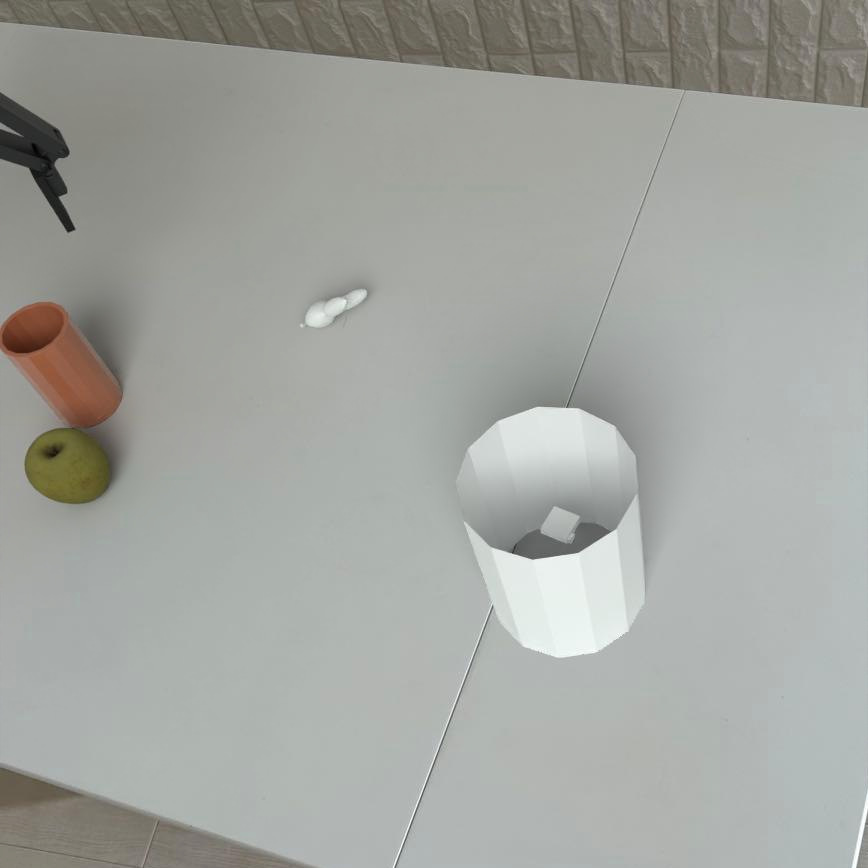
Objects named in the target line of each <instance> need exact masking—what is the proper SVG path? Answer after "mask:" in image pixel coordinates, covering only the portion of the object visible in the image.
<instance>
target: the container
mask: <svg viewBox="0 0 868 868" xmlns="http://www.w3.org/2000/svg"><path fill="white" fill-rule="evenodd" d="M638 478H639V477H638V465H637V456H636V455H635V453H634V452H633V450H632V449H631V447H630V445H629V444H628V443H627V441H626V440H625V439H624V437H623V436H622V434H621V432H620V431H619V430H618V428H617V427H616V426H615V425H614V424H612V423H609V422H608V421H605V420H603V419H602V418H600V417H598V416H596V415H594V414H592V413H589V412H587V411H585V410H583V409H581V408H577V407H555V406H554V407H553V406H535V407H533V408H530V409H527V410H523V411H522V412H518V413H516V414H513V415H511V416H508V417H505V418H502V419H499V420H497V421H496V422H495V423H493V425H492V426H491V427H489V428H488V429H487V430H486V431H485V432H484V433H483V434H482V435H481V436H480V437H479V438H478V439H476V441H474V442H473V443H472V444H471V445H470V446H468V448H467V450H466V453H465V455H464V458H463V461H462V464H461V467H460V469H459V473H458V475H457V478H456V481H455V483H454V485H455V489H456V494H457V498H458V503H459V507H460V513H461V517H462V521H463V524H464V527H465V529H466V532H467V536H468V538H469V540H470V544H471V546H472V550H473V552H474V556H475V558H476V560H477V563H478V566H479V569H480V572H481V575H482V577H483V580H484V583H485V586H486V588H487V592H488V596H489V598H490V600H491V604H492V606H493V609H494V612H495V614H496V617H497V620H498V622H499V623H500V624H501V626H503V628H504V629H506V630H507V632H508V633H509V634H510V635H511V636H512V637H513V638H514V639H515V640H516V641H517V642H518V643H519V644H520V645H521V647H523V648H526V649H529V648H530V649H529V650H531V651H535V652H538V651H539V653H541V652H542V654H545V655H548V656H550V655H551V657H553V658H557V659H561V658H569V657H575V656H583V655H582V654H584V655H590V653H591V654H597V653H599V652H600V651H602V650H603V649H604V647H605V648H606V647H607V645H608V646H610V643H611V644H613V641H614V640H615V641H617V640H618V639H620V638H621V637H623V636H624V635H626V634H627V633H629V632H630V630H629V629H631V628H632V626H633V624H634V623H635V621H636V619H637V617H638V615H639V614H640V612H641V610H640V609H642V608H643V606H644V604H645V603H646V574H645V573H646V572H645V570H646V569H645V556H644V544H643V533H642V532H643V531H642V529H643V528H642V518H641V506H640V504H641V503H640V496H639V495H640V492H639V479H638ZM580 523H586V524H597V525H599V526H600V525H601V526H600V527H602V526H603V527H602V528H604V529H606V530H608V531H609V533H607V534H606V535H604V536H603V537H601V538H599V539H598V540H596V541H595V542H593V543H591V544H590V545H589V546H587V547H585V548H584V549H582V550H581V551H579V552H576V553H569V554H562V555H555V556H550V557H549V556H548V557H542V558H535V559H531V558H528V557H525V556H522V555H519V554H515V553H510V551H511V550H512V549H513V548H514V547H515V546H516V545H517V544H518V543H519V542H520V541H521V540H523V538H524V537H526V535H527V534H530V533H532V532H535V531H538V530H540V534H542V535H544V536H547V537H549V538H551V539H554V540H556V541H559V542H562V543H564V544H568V543H569V544H572V543H573V542H574V539H575V538H576V536H575V535H576V534H575V532H576V530H577V528H578V527H579V525H580ZM611 531H612V532H611ZM642 605H643V606H642ZM641 607H642V608H641ZM637 614H638V615H637ZM636 616H637V617H636ZM635 618H636V619H635ZM634 620H635V621H634ZM632 623H633V624H632ZM631 625H632V626H631ZM630 627H631V628H630ZM626 632H627V633H626ZM625 633H626V634H625ZM623 634H624V635H623ZM622 635H623V636H622ZM620 636H621V637H620ZM619 637H620V638H619ZM616 639H617V640H616ZM615 641H614V642H615ZM599 650H600V651H599Z"/></svg>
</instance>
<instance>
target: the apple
mask: <svg viewBox="0 0 868 868" xmlns="http://www.w3.org/2000/svg"><path fill="white" fill-rule="evenodd" d="M23 466H24V472H25V476H26V478H27V480H28V483H30V485H31V486H32V487H33V489H35V491H37V492H38V493H39V494H40V495H42V496H43V497H45V498H47V499H49V500H52V501H54V502H57V503H62V504H68V505H81V504H87V503H91V502H93V501H95V500H96V499H99V498H100V497H101V496H102V495H103V494H104V492H105V491H106V490H107V488H108V486H109V483H110V480H111V464H110V461H109V458H108V455H107V453H106V451H105V450H104V448H103V447H102V446H101V444H100V443H99V442H98V441H97V440H96V439H95V438H94V437H93V436H92V435H91V434H88V433H87V432H85V431H83V430H81V429H79V428H75V427H58V428H53V429H50V430H47V431H45V432H43V433H41V434H40V435H38V436H37V437H36V438H35V439H34V440H33V441H32V443H31V444H30V446H29V447H28V448H27V451H26V454H25V457H24V465H23Z"/></svg>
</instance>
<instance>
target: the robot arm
mask: <svg viewBox="0 0 868 868" xmlns="http://www.w3.org/2000/svg"><path fill="white" fill-rule="evenodd" d="M0 124H2V125H3V126H5V127H7V128H8V129H10V130H12V131H13V132H14V133H13V132H10V131H7V130H5V129H2V128H0V160H3V161H6V162H9V163H12V164H15V165H18V166H21V167H24V168H27V169H29V172H30V174H31V176H32V178H33V181H34V182H35V183H36V185H37V187H38V188H39V190H40V191H41V193H42V195H43V196H44V198H45V199H46V201H47V202H48V204H49V205H50V207H51V209H52V211H53V212H54V213H55V215H56V217H57V218H58V220H59V221H60V223H61V225H62V226H63V228H64V229H65V231H66V232H67V234H69V233H71V232H74V231H76V227H75V225H74V223H73V221H72V219H71V217H70V215H69V213H68V210H67V209H66V207H65V205H64V204H63V202H62V201H61V199H60V197H63V196H65V195H68V187H67V185H66V183H65V181H64V178H63V177H62V175H61V174H60V172H59V170H58V168H57V167H56V165H55V164H56V162H57V161H58V160H59V159H66V158H68V157H69V155H70V153H71V151H70V148H69V146H68V144H67V142H66V140H65V138H64V136H63V134H62V132H61V130H60V129H59V128H57V127H56V126H55V125H53V124H51V123H49V122H48V121H47V120H45V119H44V118H42V117H41V116H38V115H37V114H35V113H34V112H32V111H31V110H29V109H27V108H26V107H25V106H23V105H21V104H19V103H18V102H16V101H15V100H14V99H12V98H10V97H8V96H7V95H5V94H4V93H2V92H1V91H0Z"/></svg>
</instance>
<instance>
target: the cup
mask: <svg viewBox="0 0 868 868" xmlns="http://www.w3.org/2000/svg"><path fill="white" fill-rule="evenodd" d="M0 350H1V351H2V353H3V354H4V355H5V357H6V358H7V359H8V360H9V361H10V362H11V364H12V365H13V366H14V367H15V368H16V370H18V372H19V373H20V374H21V375H22V376H23V377H24V379H25V380H26V381H27V382H28V384H29V385H30V386H31V387H32V388H33V389H34V391H35V392H36V393H37V394H38V395H39V396H40V398H41V399H42V400H43V401H44V402H45V403H46V404H47V406H48V407H49V408H50V410H51V411H52V412H53V413H54V414H55V415H56V416H57V418H58V419H59V420H60V421H61V422H62V423H63V424H64V425H66V426H68V427H70V428H74V429H85V428H91V427H94V426H96V425H98V424H101V423H102V422H104V421H106V420H107V419H108V418H110V417H111V416H112V415H113V414H114V413H115V412H116V411H117V409H118V408H119V406H120V404H121V403H122V402H121V401H122V397H123V389H122V386H121V384H120V383H119V381H118V379H117V378H116V377H115V375H114V374H113V372H112V371H111V370H110V368H109V367H108V366H107V364H106V363H105V362H104V360H103V359H102V358H101V356H100V355H99V353H98V352H97V351H96V350H95V347H93V345H92V344H91V343H90V341H89V340H88V339H87V337H86V336H85V335H84V333H83V332H82V330H81V329H80V327H79V326H78V325H77V324H76V322H75V321H74V320H73V318H72V317H71V315H70V314H69V313H68V311H67V310H66V309H65V308H64V307H63V305H61V304H58V303H56V302H53V301H38V302H33V303H31V304H28V305H25V306H22V307H21V308H19V309H18V310H16V311H15V312H13V313H12V314H11V315H10V316H8V318H6V319H5V321H4V322H3V323H2V325H1V326H0Z"/></svg>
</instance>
